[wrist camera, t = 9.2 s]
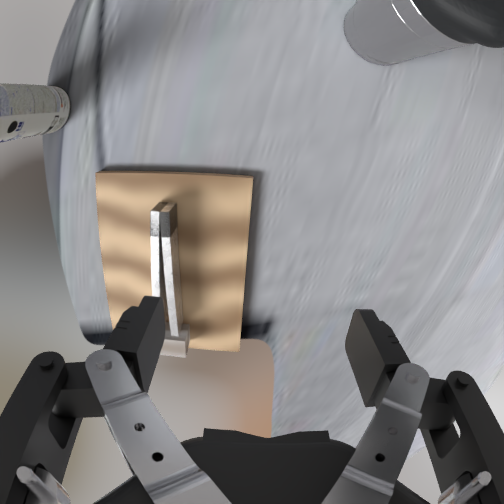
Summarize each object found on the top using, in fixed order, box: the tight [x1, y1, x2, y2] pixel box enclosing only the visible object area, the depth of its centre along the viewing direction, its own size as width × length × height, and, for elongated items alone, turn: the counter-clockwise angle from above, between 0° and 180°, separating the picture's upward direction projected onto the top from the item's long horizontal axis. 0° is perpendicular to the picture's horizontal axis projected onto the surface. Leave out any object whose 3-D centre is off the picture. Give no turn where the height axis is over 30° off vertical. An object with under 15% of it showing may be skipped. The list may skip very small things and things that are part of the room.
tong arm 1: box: [150, 202, 168, 324], centre depth 39 cm, size 17×1×4 cm, turn 173°
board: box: [96, 171, 253, 357], centre depth 41 cm, size 26×20×6 cm
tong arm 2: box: [160, 203, 183, 337], centre depth 39 cm, size 17×1×4 cm, turn 178°
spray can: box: [0, 84, 70, 142], centre depth 25 cm, size 7×7×20 cm
